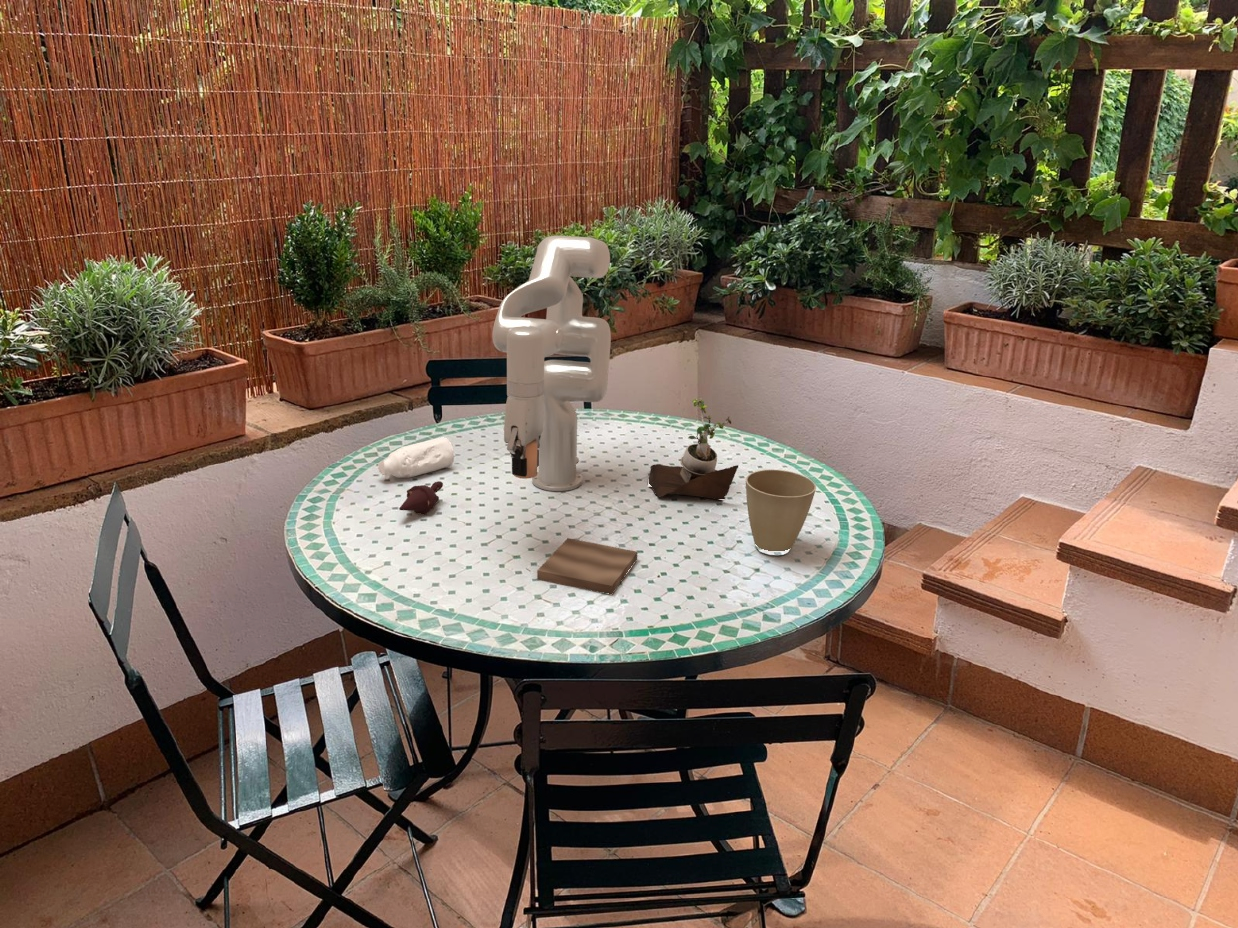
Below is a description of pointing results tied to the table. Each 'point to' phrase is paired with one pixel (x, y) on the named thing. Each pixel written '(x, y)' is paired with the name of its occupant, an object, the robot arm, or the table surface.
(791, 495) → the plant pot
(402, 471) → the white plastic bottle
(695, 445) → the potted plant
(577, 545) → the walnut board
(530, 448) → the terracotta cylinder
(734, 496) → the table surface
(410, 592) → the table surface
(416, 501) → the dark brown tapered piece
